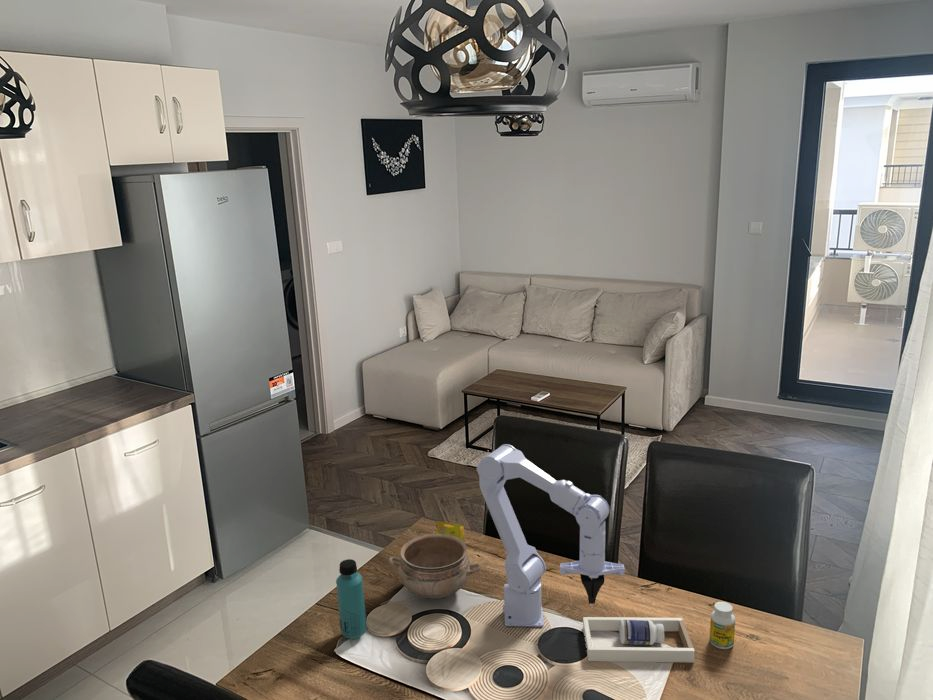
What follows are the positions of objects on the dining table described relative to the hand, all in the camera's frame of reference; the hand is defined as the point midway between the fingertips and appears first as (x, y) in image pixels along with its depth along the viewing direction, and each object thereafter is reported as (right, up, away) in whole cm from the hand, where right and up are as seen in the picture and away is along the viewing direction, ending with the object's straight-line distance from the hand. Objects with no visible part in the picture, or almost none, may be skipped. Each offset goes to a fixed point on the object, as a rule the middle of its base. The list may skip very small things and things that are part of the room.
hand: (591, 601), depth 164 cm
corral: (+11, -10, 0) cm, 15 cm away
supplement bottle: (+30, -10, 0) cm, 32 cm away
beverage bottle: (-56, -11, +7) cm, 58 cm away
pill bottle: (+7, -7, +1) cm, 10 cm away
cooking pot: (-37, -6, +24) cm, 45 cm away
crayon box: (-33, -2, +40) cm, 52 cm away
